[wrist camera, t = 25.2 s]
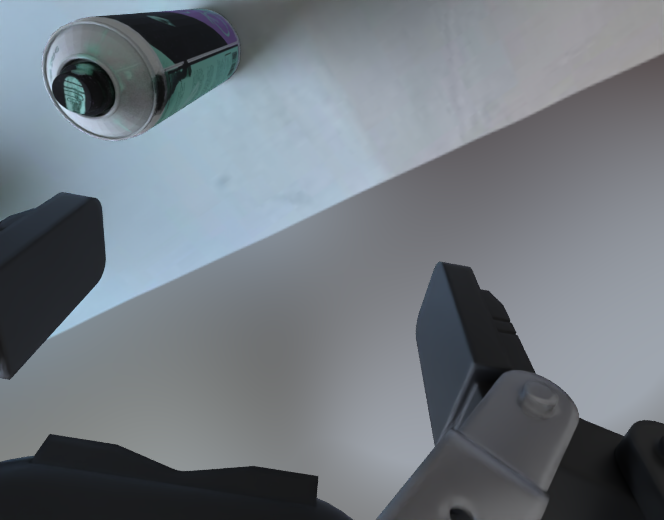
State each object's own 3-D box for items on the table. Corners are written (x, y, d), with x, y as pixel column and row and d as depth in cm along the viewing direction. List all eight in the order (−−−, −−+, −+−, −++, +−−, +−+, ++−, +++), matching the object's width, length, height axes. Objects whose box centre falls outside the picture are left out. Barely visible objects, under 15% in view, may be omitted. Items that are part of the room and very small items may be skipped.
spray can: (227, 0, 35) (99, 3, 18) (250, 75, 37) (158, 143, 20) (161, 19, 36) (-24, 40, 18) (188, 91, 38) (48, 169, 21)
